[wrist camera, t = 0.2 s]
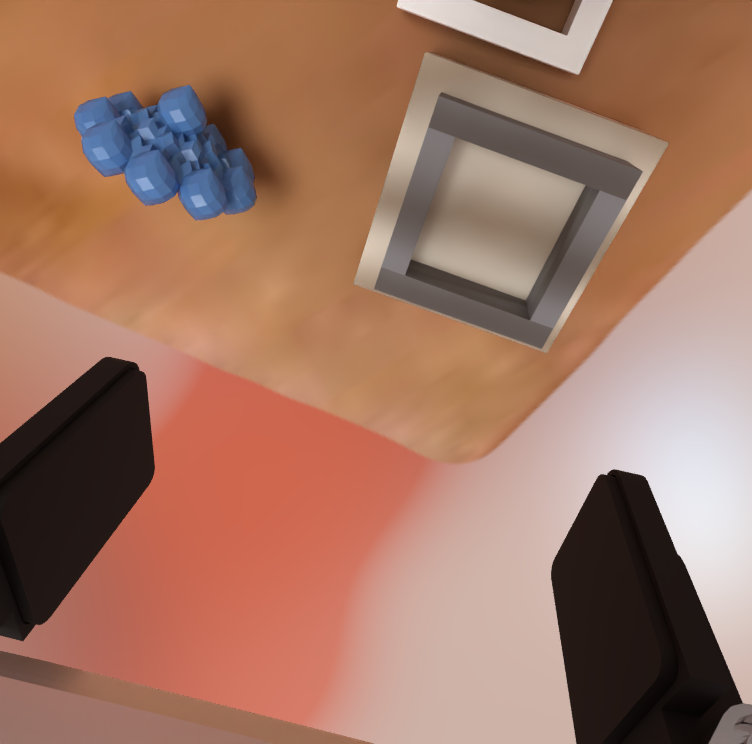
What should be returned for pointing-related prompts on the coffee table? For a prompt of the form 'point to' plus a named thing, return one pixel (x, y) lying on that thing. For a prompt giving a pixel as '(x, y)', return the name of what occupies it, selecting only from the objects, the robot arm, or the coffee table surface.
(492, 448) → the coffee table surface
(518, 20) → the low holder
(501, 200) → the raised stand
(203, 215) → the grapes
